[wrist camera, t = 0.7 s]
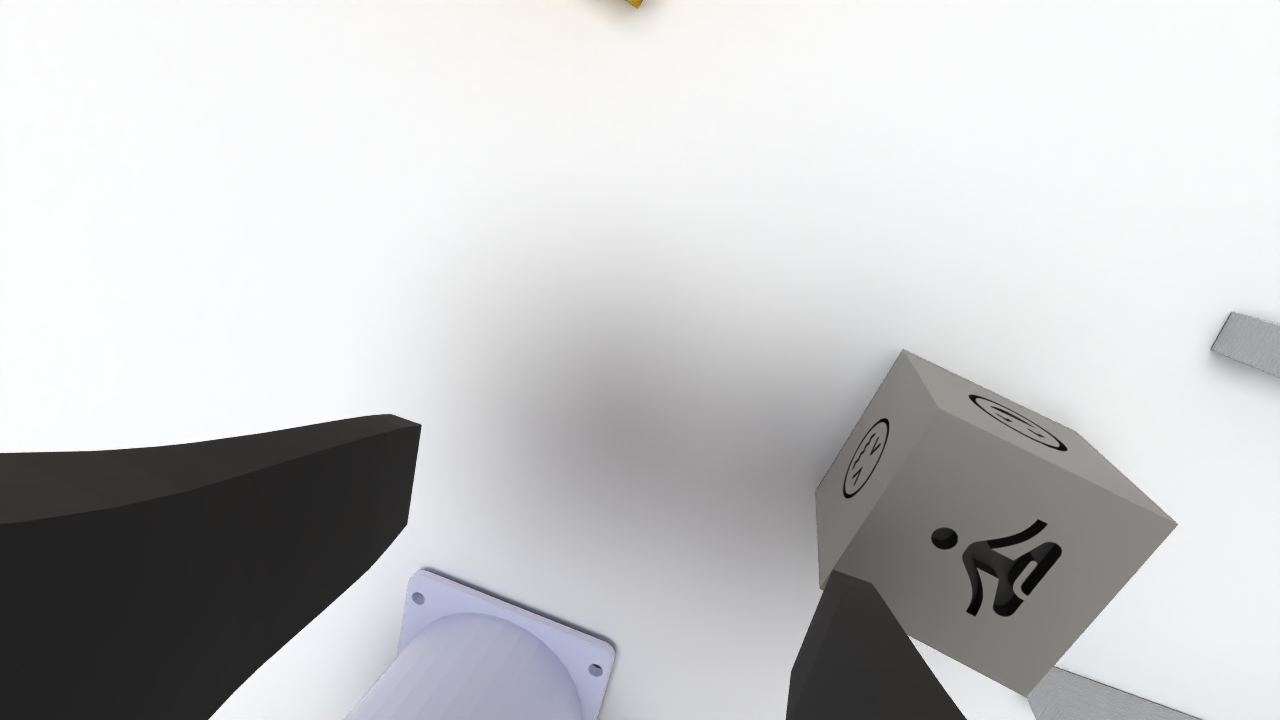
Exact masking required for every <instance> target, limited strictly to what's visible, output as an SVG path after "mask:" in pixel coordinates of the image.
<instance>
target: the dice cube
mask: <svg viewBox="0 0 1280 720" xmlns="http://www.w3.org/2000/svg"><path fill="white" fill-rule="evenodd" d="M816 514H817V538H818V561H819V585H820V589H822V590H824V589H825V586H826V584H827V581H828V579H829V576H830V574H831V571H832V569H833V570H836V571H839V572H841V573H844V574H847V575H850V576H853V577H856V578H859V579H861V580H864V581H867V582H870V583H872V584H873V585H874V587H875V588H876V590H877V591H878V592H879V594H880V595H881V597H882V598H883V600H884V601H885V602H886V604H887V605H888V607H889V608H890V610H891V612H892V613H893V615H894V616H895V618H896V619H897V621H898V622H899V624H900V625H901V627H902V628H903V630H904V631H905V633H906V634H907V635H909V636H911V637H913V638H915V639H917V640H918V641H920V642H922V643H924V644H926V645H928V646H930V647H932V648H934V649H935V650H937V651H939V652H941V653H943V654H945V655H947V656H949V657H951V658H953V659H954V660H956V661H958V662H960V663H962V664H964V665H966V666H968V667H970V668H972V669H973V670H975V671H977V672H979V673H981V674H983V675H985V676H987V677H989V678H991V679H992V680H994V681H996V682H998V683H1000V684H1002V685H1004V686H1006V687H1008V688H1009V689H1011V690H1013V691H1015V692H1017V693H1019V694H1021V695H1023V696H1025V697H1027V696H1028V694H1029V693H1030V692H1031V691H1032V690H1033V689H1034V688H1035V686H1036V685H1037V684H1038V683H1039V682H1040V681H1041V680H1042V679H1043V677H1044V676H1045V675H1046V674H1047V673H1048V672H1049V671H1050V669H1051V668H1052V667H1053V666H1054V665H1055V664H1056V663H1057V661H1058V660H1059V659H1060V658H1061V657H1062V656H1063V655H1064V654H1065V652H1066V651H1067V650H1068V649H1069V648H1070V647H1071V646H1072V644H1073V643H1074V642H1075V641H1076V640H1077V639H1078V638H1079V636H1080V635H1081V634H1082V633H1083V632H1084V631H1085V630H1086V629H1087V627H1088V626H1089V625H1090V624H1091V623H1092V622H1093V621H1094V619H1095V618H1096V617H1097V616H1098V615H1099V614H1100V613H1101V611H1102V610H1103V609H1104V608H1105V607H1106V606H1107V605H1108V604H1109V602H1110V601H1111V600H1112V599H1113V598H1114V597H1115V596H1116V594H1117V593H1118V592H1119V591H1120V590H1121V589H1122V588H1123V586H1124V585H1125V584H1126V583H1127V582H1128V581H1129V580H1130V579H1131V577H1132V576H1133V575H1134V574H1135V573H1136V572H1137V571H1138V569H1139V568H1140V567H1141V566H1142V565H1143V564H1144V563H1145V561H1146V560H1147V559H1148V558H1149V557H1150V556H1151V555H1152V554H1153V552H1154V551H1155V550H1156V549H1157V548H1158V547H1159V546H1160V544H1161V543H1162V542H1163V541H1164V540H1165V539H1166V538H1167V536H1168V535H1169V534H1170V533H1171V532H1172V531H1173V530H1174V529H1175V527H1176V526H1177V525H1178V524H1177V523H1176V522H1175V521H1174V520H1173V519H1172V518H1171V517H1170V516H1169V515H1167V514H1166V513H1165V512H1164V511H1163V510H1162V509H1161V508H1160V507H1159V506H1157V505H1156V504H1155V503H1154V502H1153V501H1152V500H1151V499H1150V498H1149V497H1148V496H1146V495H1145V494H1144V493H1143V492H1142V491H1141V490H1140V489H1139V488H1138V487H1137V486H1135V485H1134V484H1133V483H1132V482H1131V481H1130V480H1129V479H1128V478H1127V477H1126V476H1124V475H1123V474H1122V473H1121V472H1120V471H1119V470H1118V469H1117V468H1116V467H1114V466H1113V465H1112V464H1111V463H1110V462H1109V461H1108V460H1107V459H1106V458H1105V457H1103V456H1102V455H1101V454H1100V453H1099V452H1098V451H1097V450H1096V449H1095V448H1094V447H1092V446H1091V445H1090V444H1089V443H1088V442H1087V441H1086V440H1085V439H1084V438H1083V437H1081V436H1080V435H1079V434H1078V433H1077V432H1075V431H1073V430H1071V429H1069V428H1067V427H1065V426H1063V425H1061V424H1059V423H1056V422H1054V421H1052V420H1050V419H1048V418H1046V417H1044V416H1042V415H1040V414H1038V413H1036V412H1033V411H1031V410H1029V409H1027V408H1025V407H1023V406H1021V405H1019V404H1017V403H1015V402H1013V401H1010V400H1008V399H1006V398H1004V397H1002V396H1000V395H998V394H996V393H994V392H992V391H990V390H987V389H985V388H983V387H981V386H979V385H977V384H975V383H973V382H971V381H969V380H967V379H964V378H962V377H960V376H958V375H956V374H954V373H952V372H950V371H948V370H946V369H944V368H941V367H939V366H937V365H935V364H933V363H931V362H929V361H927V360H925V359H923V358H921V357H918V356H916V355H914V354H912V353H910V352H908V351H906V350H904V349H903V350H902V352H901V353H900V355H899V357H898V358H897V360H896V361H895V363H894V365H893V366H892V368H891V370H890V371H889V373H888V374H887V376H886V378H885V379H884V381H883V383H882V384H881V386H880V387H879V389H878V391H877V392H876V394H875V396H874V397H873V399H872V400H871V402H870V404H869V405H868V407H867V409H866V410H865V412H864V413H863V415H862V417H861V418H860V420H859V422H858V423H857V425H856V426H855V428H854V430H853V431H852V433H851V435H850V436H849V438H848V439H847V441H846V443H845V444H844V446H843V448H842V449H841V451H840V452H839V454H838V456H837V457H836V459H835V461H834V462H833V464H832V465H831V467H830V469H829V470H828V472H827V474H826V475H825V477H824V478H823V480H822V482H821V483H820V485H819V487H818V488H817V490H816Z"/></svg>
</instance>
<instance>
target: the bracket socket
mask: <svg viewBox="0 0 1280 720" xmlns="http://www.w3.org/2000/svg"><path fill="white" fill-rule="evenodd" d="M1211 350H1213V351H1215V352H1218V353H1220V354H1223V355H1225V356H1228V357H1230V358H1232V359H1235V360H1237V361H1240V362H1242V363H1245V364H1247V365H1250V366H1252V367H1255V368H1257V369H1260V370H1262V371H1265V372H1267V373H1270V374H1272V375H1274V376H1277V377H1279V378H1280V324H1277V323H1273V322H1269V321H1265V320H1262V319H1258V318H1254V317H1250V316H1246V315H1243V314H1239V313H1235V312H1232V313H1231V315H1230V317H1229V319H1228V320H1227V322H1226V324H1225V326H1224V327H1223V329H1222V331H1221V333H1220V334H1219V336H1218V338H1217V340H1216V342H1215V343H1214V345H1213V347H1212V349H1211ZM1027 700H1028V702H1029V704H1030V707H1031V709H1032V711H1033V713H1034V716H1035V718H1036V720H1200V719H1197V718H1195V717H1192V716H1189V715H1186V714H1184V713H1181V712H1178V711H1175V710H1172V709H1170V708H1167V707H1164V706H1161V705H1159V704H1156V703H1153V702H1150V701H1147V700H1145V699H1142V698H1139V697H1136V696H1134V695H1131V694H1128V693H1125V692H1123V691H1120V690H1117V689H1114V688H1111V687H1109V686H1106V685H1103V684H1100V683H1098V682H1095V681H1092V680H1089V679H1086V678H1084V677H1081V676H1078V675H1075V674H1073V673H1070V672H1067V671H1064V670H1061V669H1059V668H1056V667H1052V668H1051V669H1050V671H1049V672H1048V673H1047V674H1046V675H1045V676H1044V677H1043V679H1042V680H1041V681H1040V682H1039V683H1038V684H1037V685H1036V686H1035V688H1034V689H1033V690H1032V691H1031V692H1030V693H1029V694H1028V696H1027Z"/></svg>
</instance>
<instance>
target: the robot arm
mask: <svg viewBox="0 0 1280 720" xmlns="http://www.w3.org/2000/svg"><path fill="white" fill-rule="evenodd" d="M421 426H422V425H421V424H418V423H415V422H412V421H409V420H406V419H404V418H401V417H398V416H395V415H392V414H383V415H371V416H363V417H356V418H349V419H343V420H337V421H331V422H325V423H319V424H313V425H308V426H302V427H296V428H290V429H284V430H278V431H272V432H266V433H260V434H252V435H245V436H238V437H231V438H224V439H217V440H210V441H203V442H196V443H187V444H178V445H168V446H158V447H146V448H132V449H119V450H103V451H75V452H30V453H0V720H208V719H209V718H210V717H211V716H212V715H213V714H214V713H215V712H216V711H217V710H218V709H219V708H220V707H221V705H222V704H223V703H224V702H225V701H226V700H227V699H228V698H229V697H230V696H231V695H232V694H233V693H234V692H235V691H236V690H237V689H238V688H239V687H240V686H241V685H242V684H243V683H244V682H245V681H246V680H247V679H248V678H249V677H250V676H251V675H252V674H253V673H254V672H255V671H256V670H257V669H258V668H259V667H261V666H262V665H263V664H264V663H265V662H266V661H267V660H268V659H269V658H271V657H272V656H273V655H274V654H275V653H276V652H277V651H278V650H280V649H281V648H282V647H283V646H284V645H285V644H286V643H287V642H289V641H290V640H291V639H292V638H293V637H294V636H295V635H296V634H298V633H299V632H300V631H301V630H302V629H303V628H304V627H305V626H307V625H308V624H309V623H310V622H311V621H312V620H313V619H314V618H316V617H317V616H318V615H319V614H320V613H321V612H322V611H323V610H325V609H326V608H327V607H328V606H329V605H330V604H331V603H332V602H334V601H335V600H336V599H337V598H338V597H339V596H340V595H341V594H342V593H344V592H345V591H346V590H347V589H348V588H349V587H350V586H351V585H352V584H353V583H355V582H356V581H357V580H358V579H359V578H360V577H361V576H362V575H363V574H364V573H365V572H366V571H368V570H369V569H370V568H371V566H372V565H373V564H374V563H375V562H376V561H377V560H378V559H379V557H380V556H381V555H382V554H383V553H384V552H385V551H386V549H387V548H388V547H389V546H390V545H391V543H392V542H393V541H394V540H395V539H396V537H397V536H398V535H399V534H400V533H401V531H402V530H403V529H404V528H405V526H406V525H407V522H408V515H409V508H410V501H411V494H412V487H413V481H414V474H415V467H416V460H417V453H418V446H419V439H420V433H421ZM418 592H419V593H421V594H422V595H423V596H424V598H423V597H422V596H420V594H419V593H418ZM614 659H615V652H614V649H613V648H612V647H611V645H610V644H608V643H607V642H605V641H602V640H600V639H597V638H595V637H592V636H590V635H587V634H585V633H582V632H580V631H577V630H575V629H572V628H570V627H567V626H565V625H562V624H560V623H557V622H555V621H552V620H550V619H547V618H544V617H542V616H539V615H537V614H534V613H532V612H529V611H527V610H524V609H522V608H519V607H517V606H514V605H512V604H509V603H507V602H504V601H502V600H499V599H497V598H494V597H492V596H489V595H487V594H484V593H482V592H479V591H477V590H474V589H471V588H469V587H466V586H464V585H461V584H459V583H456V582H454V581H451V580H449V579H446V578H444V577H441V576H439V575H436V574H434V573H431V572H429V571H425V570H420V571H417V572H416V573H415V574H414V575H413V576H412V577H411V578H410V580H409V584H408V590H407V597H406V603H405V610H404V616H403V623H402V629H401V636H400V642H399V649H398V655H397V658H396V660H395V661H394V662H393V663H392V664H391V665H390V667H389V668H388V669H387V670H386V671H385V672H384V674H383V675H382V676H381V677H380V678H379V679H378V680H377V682H376V683H375V684H374V685H373V686H372V687H371V689H370V690H369V691H368V692H367V693H366V694H365V696H364V697H363V698H362V699H361V700H360V701H359V703H358V704H357V705H356V706H355V707H354V708H353V710H352V711H351V712H350V713H349V714H348V715H347V716H346V718H345V719H344V720H597V717H598V713H599V710H600V706H601V703H602V700H603V696H604V693H605V689H606V686H607V683H608V679H609V676H610V672H611V669H612V666H613V662H614ZM593 664H597V665H599V666H600V667H601V668H602V669H599V668H596V667H595V666H594V665H593ZM786 720H967V719H966V718H965V717H964V715H963V714H962V713H961V711H960V710H959V709H958V707H957V706H956V704H955V703H954V702H953V700H952V699H951V698H950V696H949V695H948V694H947V692H946V691H945V689H944V688H943V687H942V685H941V684H940V682H939V681H938V680H937V678H936V677H935V675H934V674H933V672H932V671H931V670H930V668H929V667H928V665H927V664H926V662H925V661H924V659H923V658H922V656H921V655H920V654H919V652H918V651H917V649H916V648H915V646H914V645H913V643H912V642H911V640H910V639H909V637H908V636H907V634H906V633H905V631H904V630H903V628H902V627H901V625H900V624H899V622H898V621H897V619H896V618H895V616H894V615H893V613H892V612H891V610H890V608H889V607H888V605H887V604H886V602H885V601H884V600H883V598H882V597H881V595H880V594H879V592H878V591H877V590H876V588H875V587H874V585H873V584H872V583H870V582H867V581H864V580H861V579H859V578H856V577H853V576H850V575H847V574H844V573H841V572H839V571H836V570H833V569H832V571H831V574H830V576H829V579H828V581H827V584H826V586H825V589H824V591H823V594H822V596H821V599H820V601H819V604H818V606H817V609H816V611H815V614H814V616H813V619H812V621H811V624H810V626H809V628H808V631H807V633H806V636H805V638H804V641H803V643H802V646H801V648H800V651H799V653H798V656H797V658H796V661H795V663H794V666H793V668H792V671H791V678H790V687H789V695H788V704H787V714H786Z"/></svg>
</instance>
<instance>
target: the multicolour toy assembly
mask: <svg viewBox="0 0 1280 720" xmlns="http://www.w3.org/2000/svg"><path fill="white" fill-rule="evenodd" d="M626 1H627V2H629V3H630V4H632V5H633V6H635V7H636V8H638V7H639V6H640V4H641V2H642V0H626Z"/></svg>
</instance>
